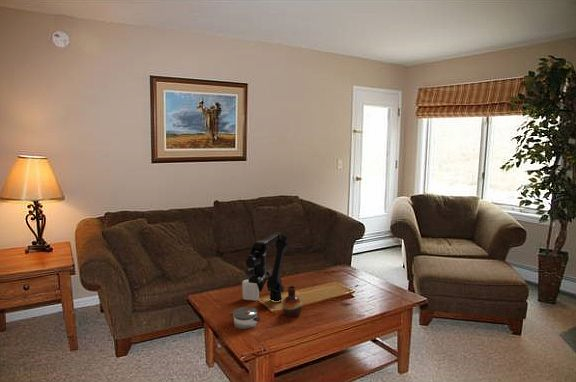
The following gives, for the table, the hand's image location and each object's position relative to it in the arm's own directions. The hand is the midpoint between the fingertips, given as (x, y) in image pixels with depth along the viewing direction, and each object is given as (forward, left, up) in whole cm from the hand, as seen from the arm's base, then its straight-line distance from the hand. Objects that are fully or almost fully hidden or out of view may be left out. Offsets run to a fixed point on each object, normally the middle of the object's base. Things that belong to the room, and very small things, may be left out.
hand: (260, 291), depth 221 cm
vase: (-18, +2, -12) cm, 22 cm away
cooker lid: (+6, +14, -7) cm, 17 cm away
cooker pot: (+6, +14, -12) cm, 20 cm away
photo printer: (+9, -18, -12) cm, 23 cm away
